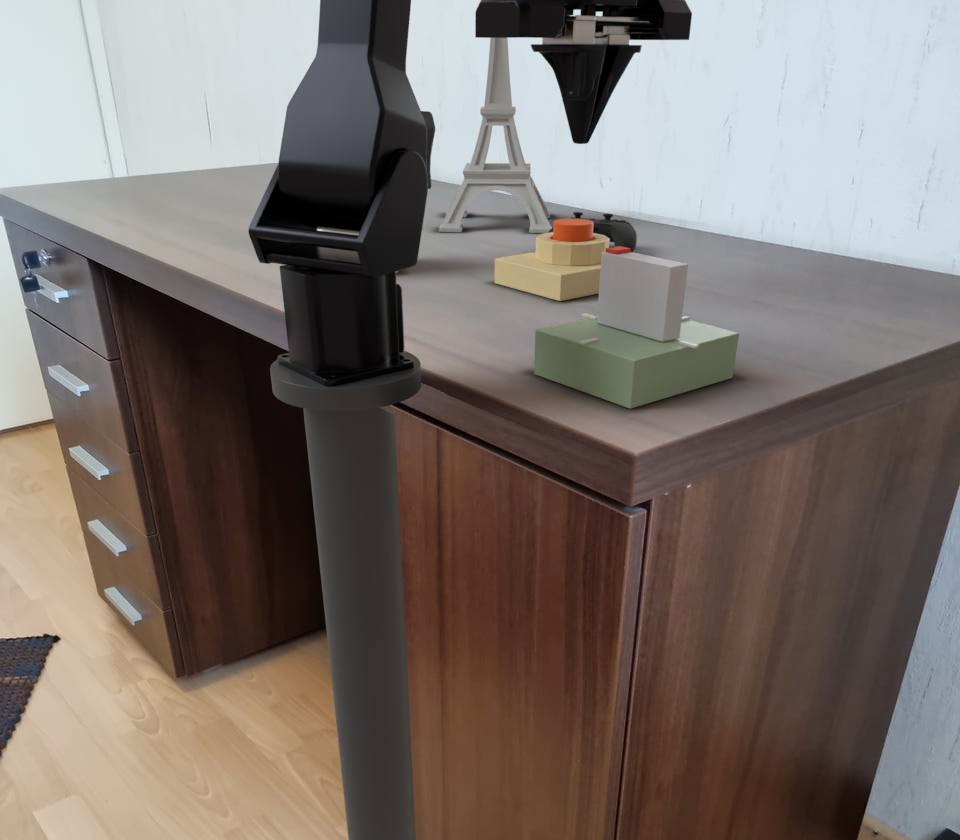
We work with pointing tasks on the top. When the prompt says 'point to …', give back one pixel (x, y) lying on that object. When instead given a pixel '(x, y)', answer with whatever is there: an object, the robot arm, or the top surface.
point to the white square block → (641, 293)
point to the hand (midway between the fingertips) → (580, 143)
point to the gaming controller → (612, 230)
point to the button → (573, 230)
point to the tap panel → (633, 360)
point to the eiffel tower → (515, 172)
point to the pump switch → (555, 268)
